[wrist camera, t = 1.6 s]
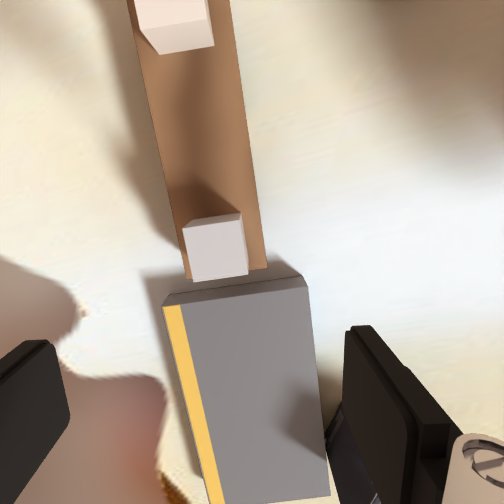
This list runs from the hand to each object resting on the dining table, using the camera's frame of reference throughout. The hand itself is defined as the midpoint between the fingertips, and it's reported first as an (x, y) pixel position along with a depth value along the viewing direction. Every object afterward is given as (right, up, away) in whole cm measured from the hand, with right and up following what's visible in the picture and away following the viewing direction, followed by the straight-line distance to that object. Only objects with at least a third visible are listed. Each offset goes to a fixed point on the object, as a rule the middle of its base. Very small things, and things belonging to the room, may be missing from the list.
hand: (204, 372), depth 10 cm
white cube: (-1, +5, +16) cm, 16 cm away
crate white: (-3, +20, +12) cm, 24 cm away
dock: (+2, -12, +25) cm, 28 cm away
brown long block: (-2, +14, +18) cm, 23 cm away
